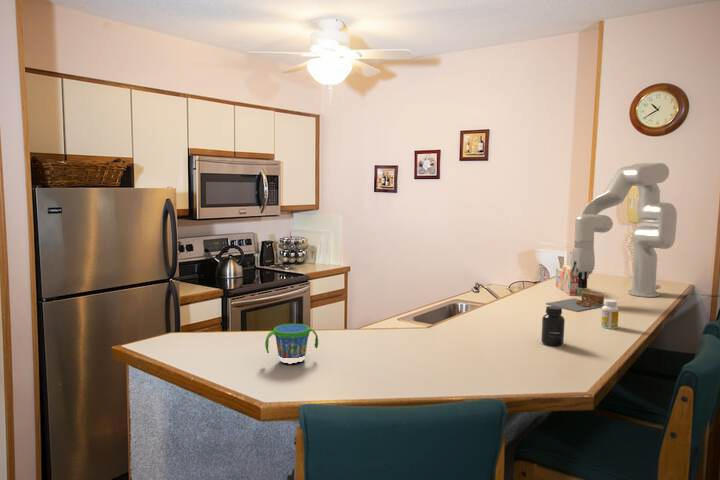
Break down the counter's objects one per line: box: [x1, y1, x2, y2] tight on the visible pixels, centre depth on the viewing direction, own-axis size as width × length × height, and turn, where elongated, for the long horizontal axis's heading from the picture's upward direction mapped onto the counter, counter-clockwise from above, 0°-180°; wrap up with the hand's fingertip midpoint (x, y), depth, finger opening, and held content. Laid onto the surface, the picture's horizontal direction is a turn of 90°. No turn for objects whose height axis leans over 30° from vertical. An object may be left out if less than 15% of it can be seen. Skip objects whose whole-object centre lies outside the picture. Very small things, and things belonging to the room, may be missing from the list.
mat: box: [545, 298, 605, 313], centre depth 227 cm, size 18×16×1 cm
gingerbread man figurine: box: [576, 291, 605, 307], centre depth 226 cm, size 9×4×12 cm
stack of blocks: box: [555, 264, 584, 297], centre depth 255 cm, size 21×6×12 cm, turn 177°
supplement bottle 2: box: [600, 299, 620, 330], centre depth 192 cm, size 5×5×10 cm
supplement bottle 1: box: [540, 305, 566, 347], centre depth 173 cm, size 7×7×12 cm
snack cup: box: [264, 323, 319, 358], centre depth 158 cm, size 16×10×10 cm
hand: (582, 287), depth 228 cm, fingers closed
